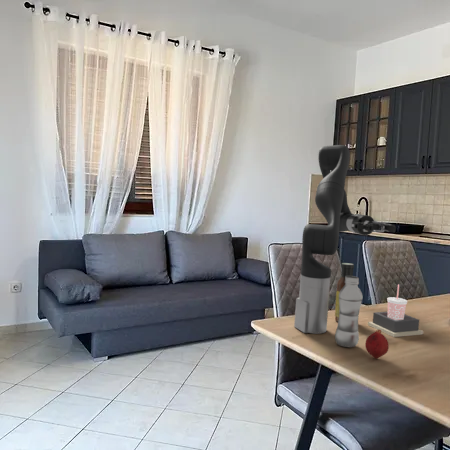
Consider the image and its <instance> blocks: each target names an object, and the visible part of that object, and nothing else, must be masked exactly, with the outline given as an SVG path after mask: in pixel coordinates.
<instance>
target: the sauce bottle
mask: <svg viewBox="0 0 450 450" xmlns="http://www.w3.org/2000/svg"><path fill="white" fill-rule="evenodd" d="M340 267H341V273H340V275H341V277H340V278H339V280H337V284H336V286H337V287H336V292H335V293H336V294H335V307H334V308H335V309H334V311H335V312H334V317H335V321H336V322H337V323H338V320H339V293H340V291H341V289H342V288H343V287H344V286H345V284H346V283H345V276H354V275H353V274H354V268H355V264H354V263H348V262H342V263H341V266H340Z"/></svg>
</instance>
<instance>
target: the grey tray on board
mask: <svg viewBox="0 0 450 450" xmlns="http://www.w3.org/2000/svg"><path fill="white" fill-rule="evenodd" d="M372 314H373V315H372V321H368V322H367V325H368V326H370V327H372V328H374V329H376V330H378V329H380V330H381V333H384V334H386V335H388V336H390V337H392V338H398V337H399V338H400V337H408V336H410V337H411V336H419V335H424V330H421V329H419V326H420V319H419V318H416V317H413V316H412V315H408V314H404V320H393V319H391V318H389V317H387V315H388V311H376V312H375V311H374V312H373V313H372Z"/></svg>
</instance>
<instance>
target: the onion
mask: <svg viewBox="0 0 450 450" xmlns="http://www.w3.org/2000/svg"><path fill="white" fill-rule="evenodd" d="M364 345H365V350H366V352H367V353H368V354H369V355H370V356H371V357H372V358H373V359H376V360H377V359H379V358H382V357H383V356H384V355H386V354H387V353H388V351H389V347H390V346H389V341H388V339H387V337H385V335H384V334H383V333H382V331H381V330H380V329H378V330H377V329H376V330H375V331H374V332H372V333H371V334H369V335H368V336H367V337H366V340H365V344H364Z"/></svg>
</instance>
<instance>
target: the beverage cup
mask: <svg viewBox="0 0 450 450" xmlns="http://www.w3.org/2000/svg"><path fill="white" fill-rule="evenodd" d="M396 290H397V291H396V297H394V296H393V297H392V296H389V297H387V298H386V299H387V300H386V301H387V312H388V315H387V317H389V318H391V319H393V320H404V314H405V312H406V306H407V304H408V300H407V299H405V298H402V297H399V290H400V284H399V283H398V284H397V289H396Z"/></svg>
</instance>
